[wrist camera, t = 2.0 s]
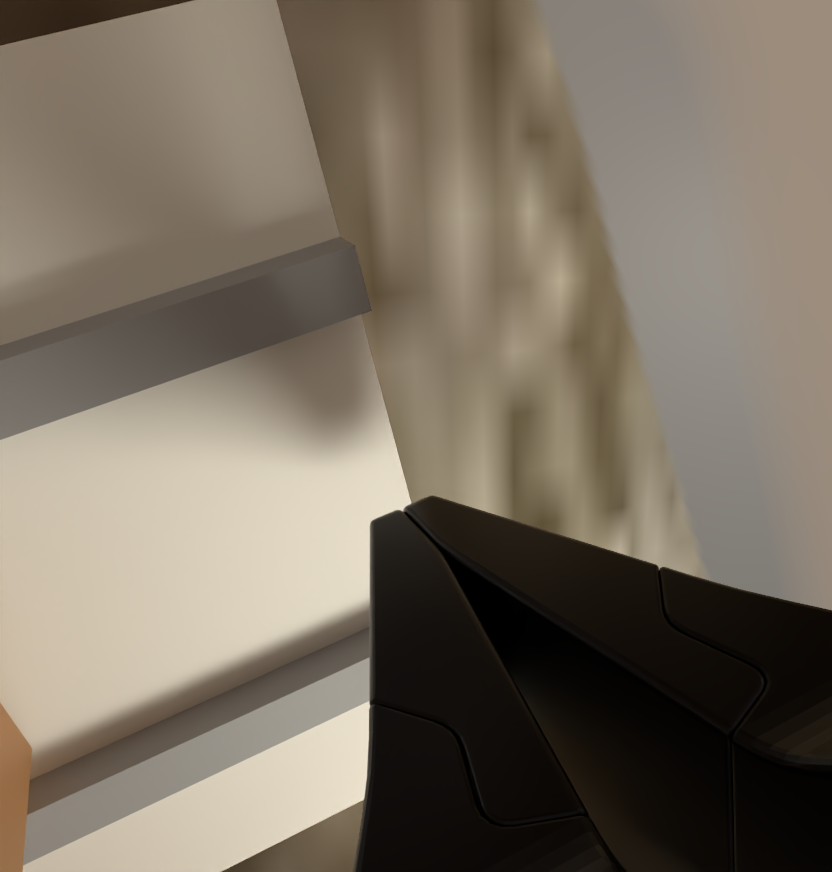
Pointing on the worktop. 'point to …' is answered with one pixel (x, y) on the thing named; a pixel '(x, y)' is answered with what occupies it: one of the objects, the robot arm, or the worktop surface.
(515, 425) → the worktop surface
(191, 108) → the slot board
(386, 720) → the robot arm
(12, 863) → the orange-brown cube
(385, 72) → the worktop surface
